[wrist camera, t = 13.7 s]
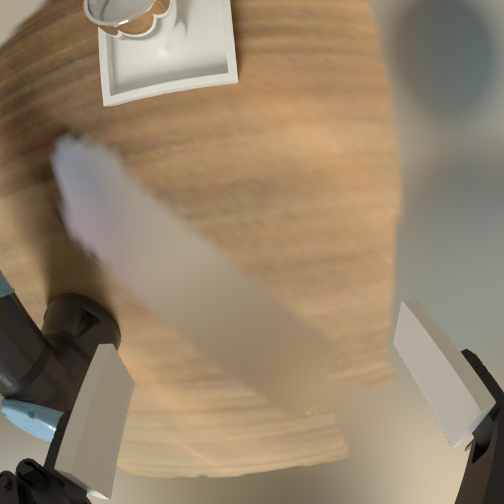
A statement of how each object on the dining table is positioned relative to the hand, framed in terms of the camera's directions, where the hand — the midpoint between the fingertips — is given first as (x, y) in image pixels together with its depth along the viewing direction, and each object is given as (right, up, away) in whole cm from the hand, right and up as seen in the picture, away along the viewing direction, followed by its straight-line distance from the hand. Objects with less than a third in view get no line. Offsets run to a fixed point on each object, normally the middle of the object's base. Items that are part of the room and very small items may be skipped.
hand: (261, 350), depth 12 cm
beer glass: (-11, +30, +15) cm, 36 cm away
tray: (-11, +31, +15) cm, 36 cm away
